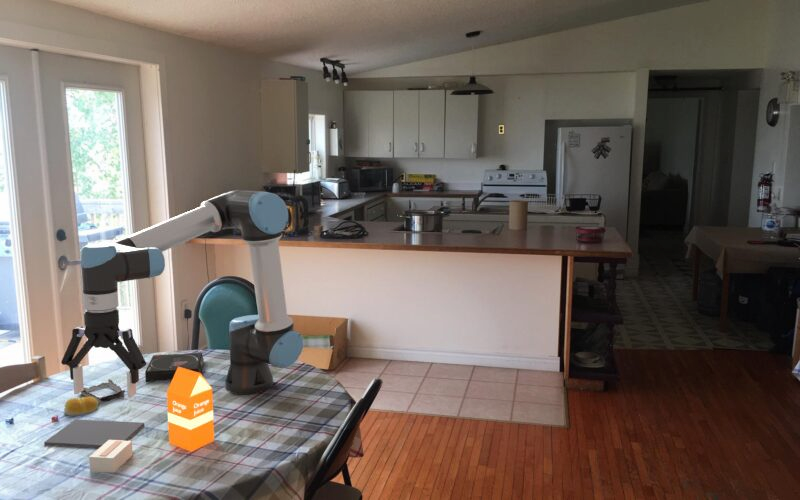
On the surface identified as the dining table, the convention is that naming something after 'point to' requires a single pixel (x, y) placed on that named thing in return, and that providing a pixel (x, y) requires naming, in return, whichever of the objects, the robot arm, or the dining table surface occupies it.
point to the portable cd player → (172, 365)
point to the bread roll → (80, 406)
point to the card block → (110, 456)
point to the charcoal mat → (93, 433)
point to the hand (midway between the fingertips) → (105, 394)
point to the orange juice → (190, 410)
